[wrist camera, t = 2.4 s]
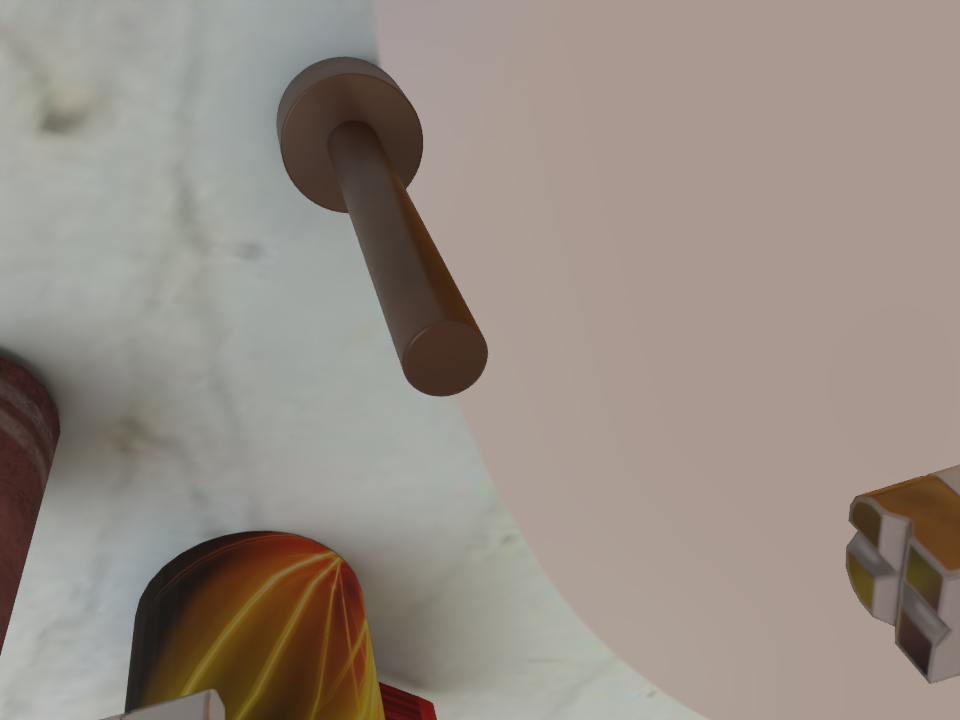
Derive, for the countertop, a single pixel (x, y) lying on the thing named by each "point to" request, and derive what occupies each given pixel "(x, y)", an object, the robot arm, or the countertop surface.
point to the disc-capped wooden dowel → (381, 211)
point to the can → (21, 472)
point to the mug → (262, 634)
